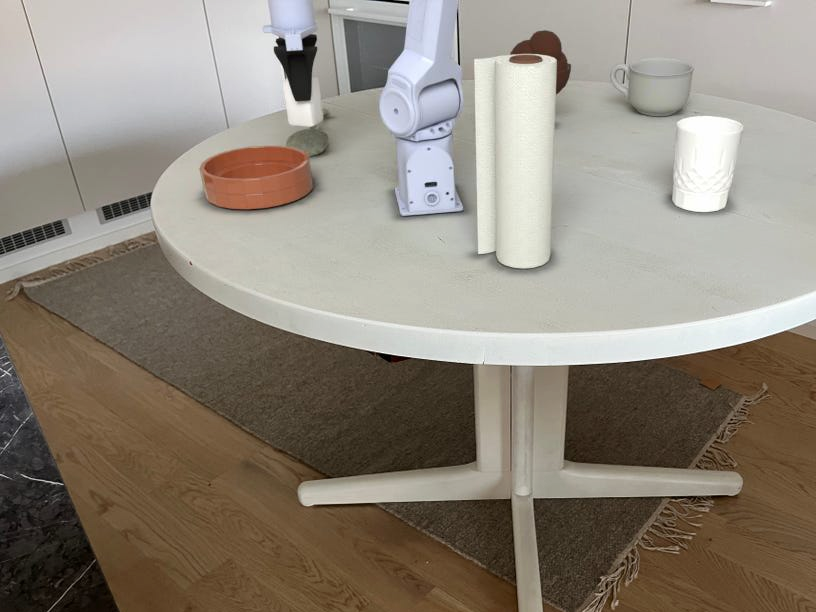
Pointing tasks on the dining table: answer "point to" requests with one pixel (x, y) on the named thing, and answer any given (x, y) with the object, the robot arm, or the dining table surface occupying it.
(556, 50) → the brown rounded tall piece
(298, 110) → the pepper shaker
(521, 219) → the paper towel roll
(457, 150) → the dining table surface
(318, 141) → the soupspoon
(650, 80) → the teacup
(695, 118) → the white cup
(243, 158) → the clay bowl
